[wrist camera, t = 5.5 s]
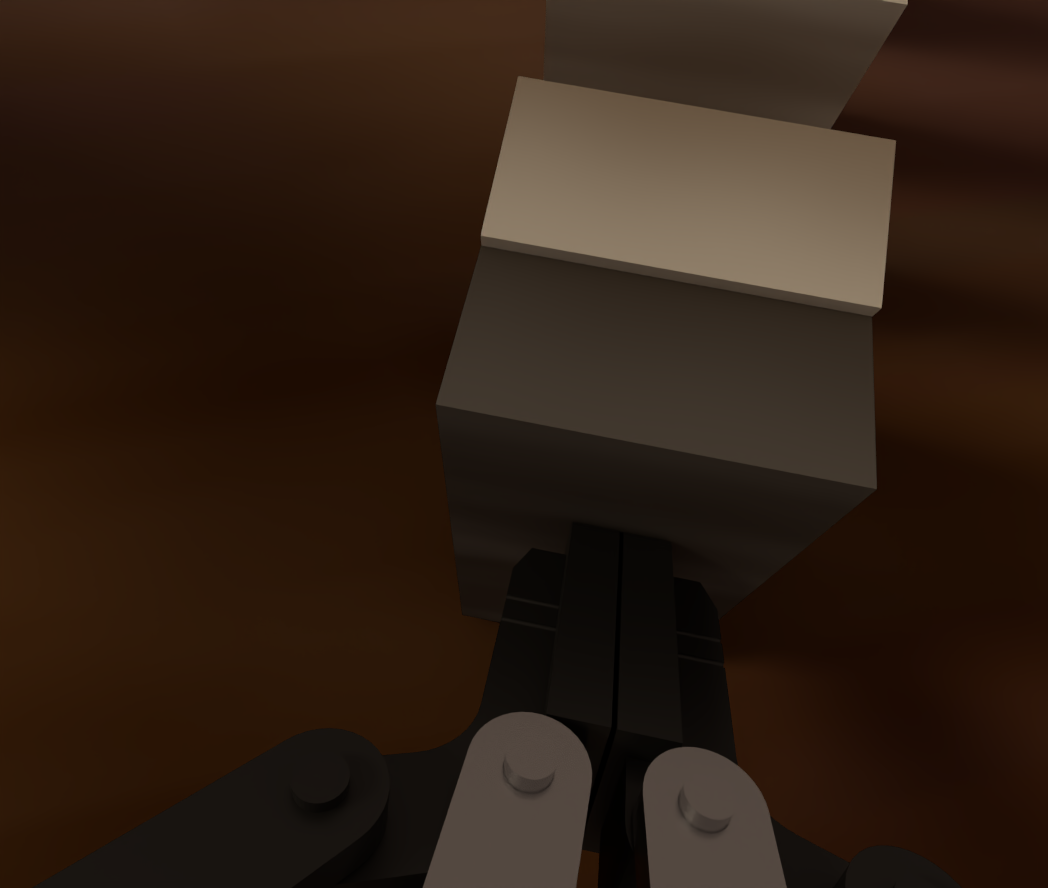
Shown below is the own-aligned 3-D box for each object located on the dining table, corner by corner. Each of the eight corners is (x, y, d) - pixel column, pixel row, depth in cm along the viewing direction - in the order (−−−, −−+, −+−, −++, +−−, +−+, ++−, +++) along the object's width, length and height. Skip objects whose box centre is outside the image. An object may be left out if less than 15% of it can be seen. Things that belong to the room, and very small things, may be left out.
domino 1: (718, 310, 20) (906, 4, 10) (536, 277, 20) (548, -54, 10) (729, 231, 20) (919, -130, 11) (552, 200, 20) (579, -182, 11)
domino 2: (694, 475, 19) (881, 308, 9) (501, 437, 19) (480, 235, 9) (706, 386, 19) (895, 141, 9) (520, 352, 19) (518, 75, 10)
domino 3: (672, 658, 17) (876, 488, 8) (462, 614, 17) (436, 404, 8) (681, 560, 18) (871, 316, 9) (484, 521, 18) (481, 245, 9)
